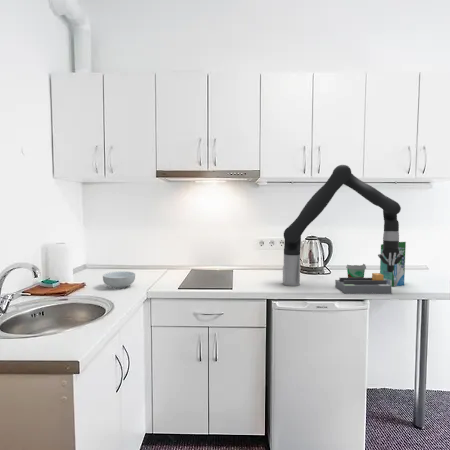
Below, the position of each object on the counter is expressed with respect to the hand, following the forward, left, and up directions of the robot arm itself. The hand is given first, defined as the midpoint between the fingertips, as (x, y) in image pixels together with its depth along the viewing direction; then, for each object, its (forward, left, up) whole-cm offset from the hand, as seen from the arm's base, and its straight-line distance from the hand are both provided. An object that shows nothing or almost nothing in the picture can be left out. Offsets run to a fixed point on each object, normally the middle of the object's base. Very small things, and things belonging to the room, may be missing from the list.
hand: (390, 272), depth 175 cm
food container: (-9, +20, -10) cm, 24 cm away
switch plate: (-15, 0, -10) cm, 18 cm away
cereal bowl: (-146, +6, -10) cm, 146 cm away
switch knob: (-7, 0, -5) cm, 9 cm away
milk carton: (+8, +14, -10) cm, 19 cm away
